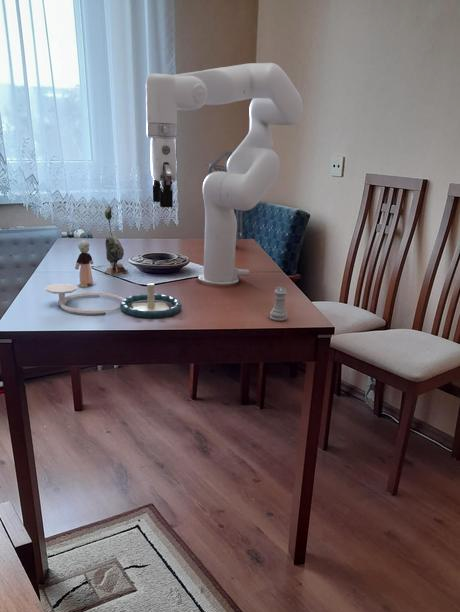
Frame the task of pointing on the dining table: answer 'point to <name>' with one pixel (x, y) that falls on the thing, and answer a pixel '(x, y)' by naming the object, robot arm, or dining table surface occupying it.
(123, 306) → the ring
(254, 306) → the dining table surface
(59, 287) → the hand towel holder
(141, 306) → the post
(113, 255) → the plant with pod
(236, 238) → the geometric lantern
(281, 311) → the rook chess piece
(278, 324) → the dining table surface
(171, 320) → the dining table surface
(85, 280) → the grandmother figurine
